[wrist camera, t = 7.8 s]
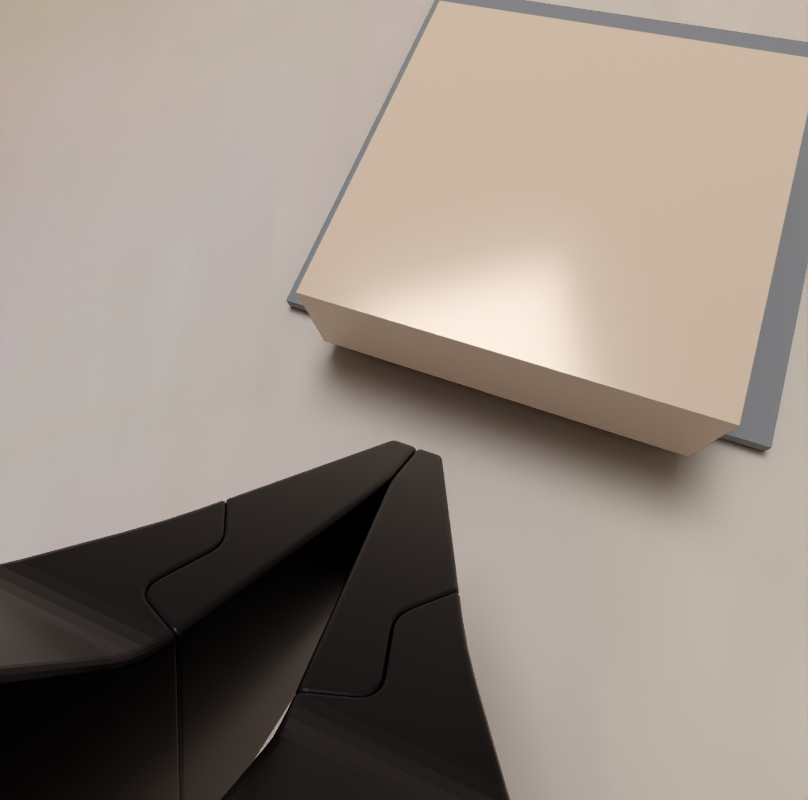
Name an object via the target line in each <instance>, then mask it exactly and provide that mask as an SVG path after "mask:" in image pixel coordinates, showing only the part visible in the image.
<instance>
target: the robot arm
mask: <svg viewBox="0 0 808 800" xmlns="http://www.w3.org/2000/svg"><path fill="white" fill-rule="evenodd" d="M458 594H459V590H458V582H457V574H456V566H455V558H454V551H453V543H452V535H451V527H450V519H449V511H448V504H447V496H446V488H445V480H444V472H443V465H442V459H441V457H440V456H438V455H436V454H433V453H430V452H427V451H424V450H417V451H416V449H415V448H414V447H412V446H409V445H406V444H403V443H400V442H398V441H390V442H387V443H384V444H381V445H379V446H376V447H373V448H370V449H367V450H364V451H362V452H359V453H356V454H353V455H350V456H348V457H345V458H342V459H339V460H336V461H334V462H331V463H328V464H325V465H322V466H319V467H317V468H314V469H311V470H308V471H305V472H303V473H300V474H297V475H294V476H291V477H288V478H286V479H283V480H280V481H277V482H274V483H272V484H269V485H266V486H263V487H260V488H258V489H255V490H252V491H249V492H246V493H243V494H241V495H238V496H235V497H232V498H229V499H227V501H226V503H225V502H224V501H220V502H218V503H215V504H212V505H209V506H206V507H203V508H201V509H198V510H195V511H192V512H189V513H186V514H183V515H179V516H176V517H173V518H170V519H167V520H164V521H161V522H157V523H154V524H150V525H147V526H143V527H140V528H136V529H133V530H129V531H126V532H122V533H119V534H115V535H111V536H107V537H104V538H100V539H96V540H92V541H88V542H85V543H81V544H77V545H73V546H70V547H66V548H62V549H58V550H55V551H51V552H47V553H43V554H40V555H36V556H32V557H28V558H25V559H21V560H17V561H12V562H8V563H4V564H0V800H510V798H509V794H508V791H507V788H506V784H505V781H504V777H503V774H502V771H501V767H500V764H499V760H498V757H497V753H496V750H495V746H494V743H493V739H492V736H491V732H490V729H489V725H488V722H487V719H486V715H485V712H484V708H483V705H482V701H481V698H480V694H479V691H478V687H477V683H476V680H475V676H474V672H473V668H472V664H471V660H470V656H469V652H468V647H467V641H466V635H465V630H464V624H463V618H462V611H461V603H460V596H459V595H458ZM295 694H296V695H295ZM291 700H292V702H291ZM290 702H291V704H290ZM289 704H290V706H289V708H288V710H287V712H286V714H285V716H284V718H283V720H282V722H281V724H280V726H279V727H278V729H277V731H276V733H275V734H274V736H273V738H272V739H271V740H270V742H269V743H268V744H267V746H266V747H265V748H264V749H263V750H262V752H261V753H260V754H259V755H258V756H257V754H258V753H259V751H260V749H261V748H262V746H263V745H264V743H265V742H266V740H267V738H268V737H269V735H270V734H271V732H272V730H273V729H274V727H275V726H276V724H277V723H278V721H279V719H280V718H281V716H282V715H283V713H284V711H285V710H286V708H287V707H288V705H289ZM256 756H257V757H256ZM255 757H256V759H255ZM254 759H255V760H254Z"/></svg>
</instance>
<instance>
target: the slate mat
mask: <svg viewBox="0 0 808 800" xmlns="http://www.w3.org/2000/svg"><path fill="white" fill-rule="evenodd" d="M439 1H445V2H452V3H458V4H465V5H471V6H478V7H484V8H491V9H497V10H504V11H510V12H517V13H523V14H530V15H536V16H543V17H549V18H556V19H562V20H568V21H575V22H581V23H588V24H594V25H601V26H607V27H614V28H620V29H627V30H633V31H640V32H646V33H653V34H659V35H666V36H672V37H679V38H685V39H692V40H698V41H705V42H711V43H717V44H724V45H730V46H737V47H743V48H750V49H756V50H763V51H769V52H776V53H782V54H789V55H795V56H802V57H808V42H802V41H795V40H789V39H782V38H775V37H768V36H762V35H755V34H748V33H741V32H735V31H728V30H721V29H714V28H708V27H701V26H694V25H687V24H681V23H674V22H667V21H660V20H654V19H647V18H640V17H633V16H627V15H620V14H613V13H606V12H600V11H593V10H586V9H579V8H573V7H566V6H559V5H552V4H546V3H539V2H532V1H525V0H435V1H434V3H433V5H432V7H431V9H430V11H429V13H428V15H427V17H426V19H425V21H424V23H423V25H422V27H421V29H420V31H419V33H418V35H417V37H416V39H415V41H414V43H413V45H412V47H411V49H410V51H409V53H408V55H407V57H406V59H405V62H404V64H403V66H402V68H401V70H400V72H399V74H398V76H397V78H396V80H395V82H394V84H393V86H392V88H391V90H390V92H389V94H388V96H387V98H386V100H385V102H384V104H383V106H382V108H381V110H380V112H379V114H378V116H377V118H376V120H375V122H374V124H373V126H372V128H371V130H370V132H369V134H368V136H367V138H366V140H365V142H364V144H363V146H362V148H361V150H360V152H359V154H358V157H357V159H356V161H355V163H354V165H353V167H352V169H351V171H350V173H349V175H348V177H347V179H346V181H345V183H344V185H343V187H342V189H341V191H340V193H339V195H338V197H337V199H336V201H335V203H334V205H333V207H332V209H331V211H330V213H329V215H328V217H327V219H326V221H325V223H324V225H323V227H322V229H321V231H320V233H319V235H318V237H317V239H316V241H315V243H314V245H313V247H312V249H311V251H310V254H309V256H308V258H307V260H306V262H305V264H304V266H303V268H302V270H301V272H300V274H299V276H298V278H297V280H296V282H295V284H294V286H293V288H292V290H291V292H290V294H289V296H288V298H287V302H288V304H289V305H290V306H291V307H295V308H298V309H301V310H304V311H307V310H306V309H305V307H304V305H303V304H302V302H301V300H300V298H299V297H298V295H297V293H296V291H297V289H298V287H299V285H300V283H301V281H302V279H303V277H304V275H305V273H306V271H307V269H308V267H309V265H310V263H311V261H312V259H313V257H314V255H315V253H316V251H317V249H318V246H319V244H320V242H321V240H322V238H323V236H324V234H325V232H326V230H327V228H328V226H329V224H330V222H331V220H332V218H333V216H334V214H335V212H336V210H337V208H338V206H339V204H340V202H341V200H342V198H343V196H344V194H345V192H346V190H347V188H348V186H349V184H350V182H351V180H352V177H353V175H354V173H355V171H356V169H357V167H358V165H359V163H360V161H361V159H362V157H363V155H364V153H365V151H366V149H367V147H368V145H369V143H370V141H371V139H372V137H373V135H374V133H375V131H376V129H377V127H378V125H379V123H380V121H381V119H382V117H383V115H384V113H385V111H386V108H387V106H388V104H389V102H390V100H391V98H392V96H393V94H394V92H395V90H396V88H397V86H398V84H399V82H400V80H401V78H402V76H403V74H404V72H405V70H406V68H407V66H408V64H409V62H410V60H411V58H412V56H413V54H414V52H415V50H416V48H417V46H418V44H419V41H420V39H421V37H422V35H423V33H424V31H425V29H426V27H427V25H428V23H429V21H430V19H431V17H432V15H433V13H434V11H435V9H436V7H437V5H438V3H439ZM807 264H808V114H807V118H806V123H805V128H804V132H803V137H802V141H801V146H800V150H799V155H798V160H797V164H796V169H795V173H794V178H793V183H792V187H791V192H790V196H789V201H788V205H787V210H786V215H785V219H784V224H783V228H782V233H781V238H780V242H779V247H778V251H777V256H776V260H775V265H774V270H773V274H772V279H771V283H770V288H769V293H768V297H767V302H766V306H765V311H764V315H763V320H762V325H761V329H760V334H759V338H758V343H757V348H756V352H755V357H754V361H753V366H752V370H751V375H750V380H749V384H748V389H747V393H746V398H745V403H744V407H743V412H742V416H741V421H740V425H739V426H738V427H736V428H735V429H733V430H731V431H730V432H728V433H726V434H725V435H723V436H721V437H720V438H722V439H726V440H729V441H732V442H735V443H739V444H742V445H745V446H748V447H752V448H755V449H758V450H762V451H765V450H767V449H769V448H771V446H772V441H773V436H774V431H775V426H776V421H777V415H778V410H779V405H780V400H781V395H782V390H783V385H784V380H785V375H786V370H787V365H788V360H789V355H790V350H791V345H792V340H793V334H794V329H795V324H796V319H797V314H798V309H799V304H800V299H801V294H802V289H803V284H804V279H805V274H806V269H807Z"/></svg>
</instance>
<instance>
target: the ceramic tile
mask: <svg viewBox="0 0 808 800" xmlns="http://www.w3.org/2000/svg"><path fill="white" fill-rule="evenodd" d="M807 114H808V57H802V56H795V55H789V54H782V53H776V52H769V51H763V50H756V49H750V48H743V47H737V46H730V45H724V44H717V43H711V42H705V41H698V40H692V39H685V38H679V37H672V36H666V35H659V34H653V33H646V32H640V31H633V30H627V29H620V28H614V27H607V26H601V25H594V24H588V23H581V22H575V21H568V20H562V19H556V18H549V17H543V16H536V15H530V14H523V13H517V12H510V11H504V10H497V9H491V8H484V7H478V6H471V5H465V4H458V3H452V2H445V1H439V3H438V5H437V7H436V9H435V11H434V13H433V15H432V17H431V19H430V21H429V23H428V25H427V27H426V29H425V31H424V33H423V35H422V37H421V39H420V41H419V44H418V46H417V48H416V50H415V52H414V54H413V56H412V58H411V60H410V62H409V64H408V66H407V68H406V70H405V72H404V74H403V76H402V78H401V80H400V82H399V84H398V86H397V88H396V90H395V92H394V94H393V96H392V98H391V100H390V102H389V104H388V106H387V108H386V111H385V113H384V115H383V117H382V119H381V121H380V123H379V125H378V127H377V129H376V131H375V133H374V135H373V137H372V139H371V141H370V143H369V145H368V147H367V149H366V151H365V153H364V155H363V157H362V159H361V161H360V163H359V165H358V167H357V169H356V171H355V173H354V175H353V177H352V180H351V182H350V184H349V186H348V188H347V190H346V192H345V194H344V196H343V198H342V200H341V202H340V204H339V206H338V208H337V210H336V212H335V214H334V216H333V218H332V220H331V222H330V224H329V226H328V228H327V230H326V232H325V234H324V236H323V238H322V240H321V242H320V244H319V246H318V249H317V251H316V253H315V255H314V257H313V259H312V261H311V263H310V265H309V267H308V269H307V271H306V273H305V275H304V277H303V279H302V281H301V283H300V285H299V287H298V289H297V291H296V293H297V295H298V297H299V298H300V300H301V302H302V304H303V305H304V307H305V309H306V310H307V312H308V314H309V315H310V317H311V319H312V320H313V322H314V324H315V325H316V327H317V329H318V331H319V332H320V334H321V336H322V337H323V339H324V341H326V342H329V343H332V344H336V345H339V346H342V347H345V348H348V349H351V350H354V351H357V352H361V353H364V354H367V355H370V356H373V357H376V358H379V359H383V360H386V361H389V362H392V363H395V364H398V365H401V366H405V367H408V368H411V369H414V370H417V371H420V372H423V373H427V374H430V375H433V376H436V377H439V378H442V379H445V380H449V381H452V382H455V383H458V384H461V385H464V386H467V387H471V388H474V389H477V390H480V391H483V392H486V393H489V394H492V395H496V396H499V397H502V398H505V399H508V400H511V401H514V402H518V403H521V404H524V405H527V406H530V407H533V408H536V409H540V410H543V411H546V412H549V413H552V414H555V415H558V416H562V417H565V418H568V419H571V420H574V421H577V422H580V423H584V424H587V425H590V426H593V427H596V428H599V429H602V430H606V431H609V432H612V433H615V434H618V435H621V436H624V437H628V438H631V439H634V440H637V441H640V442H643V443H646V444H649V445H653V446H656V447H659V448H662V449H665V450H668V451H671V452H675V453H678V454H681V455H684V456H687V457H689V456H690V455H692V454H693V453H695V452H697V451H698V450H700V449H702V448H703V447H705V446H707V445H708V444H710V443H712V442H713V441H715V440H717V439H718V438H720V437H721V436H723V435H725V434H726V433H728V432H730V431H731V430H733V429H735V428H736V427H738V426H739V425H740V421H741V416H742V412H743V407H744V403H745V398H746V393H747V389H748V384H749V380H750V375H751V370H752V366H753V361H754V357H755V352H756V348H757V343H758V338H759V334H760V329H761V325H762V320H763V315H764V311H765V306H766V302H767V297H768V293H769V288H770V283H771V279H772V274H773V270H774V265H775V260H776V256H777V251H778V247H779V242H780V238H781V233H782V228H783V224H784V219H785V215H786V210H787V205H788V201H789V196H790V192H791V187H792V183H793V178H794V173H795V169H796V164H797V160H798V155H799V150H800V146H801V141H802V137H803V132H804V128H805V123H806V118H807Z"/></svg>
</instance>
